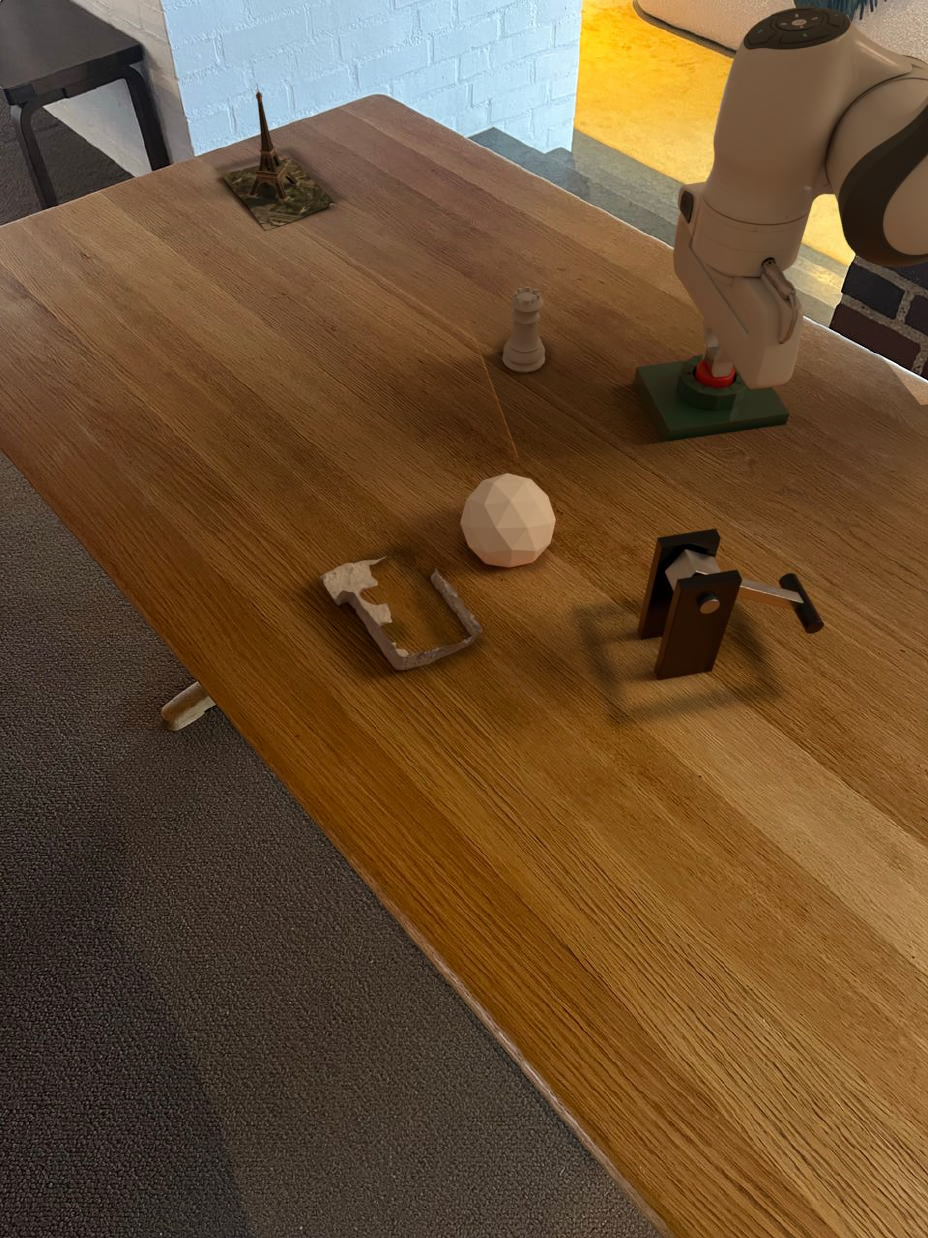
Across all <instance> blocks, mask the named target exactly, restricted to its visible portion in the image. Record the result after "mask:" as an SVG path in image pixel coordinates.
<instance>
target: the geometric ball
mask: <svg viewBox="0 0 928 1238" xmlns="http://www.w3.org/2000/svg"><path fill="white" fill-rule="evenodd" d="M556 521H557V519H556V516H555V513H554V509H553V507H552V503H551V501H550V497H549V496H548V495H547V494H546V492H544V491H543V490H542V488H540V487H539V486H538V485H537V483H536V482H534V480H532V479H531V478H529V477H524V476H520V475H517V474H513V473H509V472H506V473H502V474H499V475H496V476H493V477H490V478H489V477H488V478H486V479H483V480H482V481H480V483H479V484H478V485H477V486H476V488H475V489H474V490H473V491H472V492H471V494H470V495H469V496H468V497H467V498H466V500H465V503H464V507H463V511H462V515H461V519H460V522H459V524H460V527H461V530H462V532H463V535H464V538H465V541H466V544H467V546H468V548H469V549H470V550H472V552H473V553H475V555H476V556H477V557H478V558H479V559H480V560H481V561H482V562H483V563H484V564H486V565H489V566H496V567H503V568H513V567H519V566H524V565H528V564H531V563H534V562H535V561H536V560H537V559H538V558H539V556H540V555H542V554H543V552H544V551H545V550H546V549H547V548H548V547H549V546H550V545H551V542H552V540H553V539H552V538H553V534H554V530H555V525H556Z"/></svg>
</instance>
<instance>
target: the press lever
mask: <svg viewBox="0 0 928 1238" xmlns="http://www.w3.org/2000/svg"><path fill="white" fill-rule="evenodd" d="M719 572H722V570H721V568H720V566H719V565H718V562H717V560H716V557H715V558H714V557H712V556H708V555H704V554H701V553H697V552H694V551H690V550H686V549H685V550H684V551H683V552H682V553H681V554H680V555H679V556H678V558H677V559H676V560H675V561H674V562H673V563H672V564H671V565H670V566H669V567H668V568H667V570H666V571H665V573H666V575H667V577H668V580H669V582H670V584H671V586H672V588H673V591H674V589H675V586H676V582H677V579H682V578H688V577H694V576H701V575H707V574H713V573H719ZM741 578H742V583H741V586H740V589H739V592H738V595H737V597H738V598H743V599H745V600H750V601H754V602H758V603H762V604H766V605H770V606H772V607H773V606H774V607H778V608H782V609H785V610H789V611H793V612H794V614H795V616H796V618H797V619H798V621H799V623H800V625H801V627H802V629H803V631H804V632H805V633H806V634H807V635H813V634H816V633H818V632H820V631H821V630H822V629H824V626H825V623H824V621H823V619H822V617H821V616H820V614H819V612H818V610H817V609H816V607H815V605H814V603H813V601H812V600H811V598H810V596H809V595H808V593H807V591H806V589H805V588H804V586H803V584H802V582H801V580H800V579H799V577H798V576H797V574H796V573H794V572H789V573H786V574H784V575H782V576H780V578H779V580H778V585H779V587H778V586H775V585H771V584H767V583H763V582H759V581H756V580H752V579H748V578H744V577H741Z"/></svg>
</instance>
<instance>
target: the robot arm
mask: <svg viewBox="0 0 928 1238" xmlns="http://www.w3.org/2000/svg"><path fill="white" fill-rule="evenodd" d="M712 140H713V141H712V142H713V143H712V144H713V154H714V155H713V163H712V166H711V170H710V171H709V174H708V176H707V178H706V180H705V181H698V182H693V183H688V184H683V185H681V186H680V189H679V192H678V196H677V207H678V210H679V214H678V218H677V222H676V227H675V228H676V229H675V235H674V243H673V252H672V261H673V269H674V274H675V276H676V277H677V279H678V280H679V282H680V283H681V285H682V286H683V288H684V289H685V291H686V292H687V294H688V296H689V297H690V299H691V300H692V302H693V304H694V305H695V307H696V308H697V310H698V311H699V312H700V315H701V316H702V318H703V320H702V330H703V341H704V347H703V351H702V355H703V356H702V358H703V360H704V361H705V363H706V364H707V366H708V368H709V369H710V371H711V373H712V375H713V376H714V377H716V378H717V377H724V376H728V375H729V374H730V373H731V370H732V366H733V365H734V366H735V368H736V369H737V371H738V373H739V374H740V376H741V377H742V379H743V381H744V382H745V384H746V385H747V386H748V387H749V388H750V389H760V388H768V387H772V388H773V387H779V386H783V385H784V384H786V383H787V382H788V381H790V379H791V378H792V377H793V374H794V369H795V365H796V361H797V357H798V353H799V350H800V349H799V348H800V343H801V339H802V334H803V327H804V309H803V306H802V303H801V300H800V299H799V298H798V296H797V290H796V288H795V285H794V284H793V282H791V281H790V280H788V279H787V277H786V276H785V274H784V271H787V270H788V269H790V268H791V267H792V266H793V265H794V264H795V262H796V260H797V258H798V255H799V252H800V248H801V245H802V241H803V237H804V235H805V231H806V228H807V224H808V222H809V217H810V214H811V212H812V211H811V210H812V206H813V202H814V201H815V200H816V199H817V198H818V197H819V196H822V195H834V197H835V200H836V202H837V208H838V214H839V218H840V223H841V229H842V233H843V237H844V239H845V242H846V244H847V246H848V247H849V248H850V250H851V251H853V253H854V254H855V255H856V256H858V257H859V258H861V260H864V261H866V262H868V263H871V264H874V265H877V266H881V267H891V268H898V267H899V268H900V267H901V268H903V267H911V266H916V265H920V264H923V263H926V262H927V263H928V63H927V62H925V61H924V60H922V59H920V58H918V57H916V56H911V55H908V54H907V55H905V54H900V53H898V52H895V51H892V50H889V49H887V48H885V47H883V46H881V45H879V44H877V42H875V41H873V40H871V38H869V37H868V36H866V35H865V34H863V33H862V32H861V31H860V30H859V29H858V28H857V27H856V26H855V25H854V23H853V22H852V20H851V19H850V17H849V16H848V15H847V14H846V13H844V12H842V11H840V10H838V9H833V8H829V7H828V8H827V7H820V6H815V5H813V6H812V5H811V6H810V5H808V6H807V5H806V6H799V7H791V8H787V9H783V10H780V11H776V12H774V13H772V14H770V15H769V16H767V17H764V18H763V19H762V20H760V21H758V22H757V23H755V24H754V25H753V26H752V27H751V28H750V29H749V30H748V31H747V33H745V35H744V37H743V38H742V40H741V42H740V43H739V46H738V48H737V50H736V51H735V55H734V57H733V60H732V63H731V66H730V69H729V72H728V74H727V78H726V82H725V85H724V88H723V92H722V97H721V100H720V105H719V110H718V113H717V117H716V123H715V128H714V134H713V139H712Z"/></svg>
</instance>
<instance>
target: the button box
mask: <svg viewBox="0 0 928 1238" xmlns="http://www.w3.org/2000/svg"><path fill="white" fill-rule="evenodd" d="M702 356H703V354H698V355H697V354H696V355H693V356H691V357H690V358H688V359H686V360H685V359H684V360H678V361H670V362H663V363H656V364H648V365H641V366H636V367H635V373H634V379H633V386H634V388H635V390H636V392H637V394H638V396H639V399H640V400H641V403H642V404H643V406H644V408H645V410H646V412H647V414H648V416H649V418H650V419H651V422H652V424H653V426H654V427H655V429H656V431H657V433H658V435H659V437H660V439H661V441H662V442H663V443H668V442H673V441H682V440H689V439H695V438H701V437H703V438H704V437H708V436H709V437H711V436H717V435H723V434H729V433H738V432H743V431H745V432H746V431H751V430H752V431H753V430H757V429H764V428H771V427H779V426H786V425H787V422H788V419H789V416H790V412H789V410H788V408H787V407H786V405H785V404H784V402H783V401H782V400H781V398H780V397H779V395H778V394H777V392H776V391H775V389H774V388H773V387H768V388H760V389H750V388H749V387H748V386H747V385H746V384H745V382H744V381H743V379H742V377H741V376H740V374H739V373H738V371H737V369H736V368H735V366H734V365H733V366H734V368H735V374H734V378H733V382H732V384H731V385H730V386H728V387H721V388H713V387H708V386H705V385H703V384H701V383H700V382H698V381H696V379H695V373H696V369H697V365H698V363H699V362H700V361H701V360H703V358H702Z"/></svg>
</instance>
